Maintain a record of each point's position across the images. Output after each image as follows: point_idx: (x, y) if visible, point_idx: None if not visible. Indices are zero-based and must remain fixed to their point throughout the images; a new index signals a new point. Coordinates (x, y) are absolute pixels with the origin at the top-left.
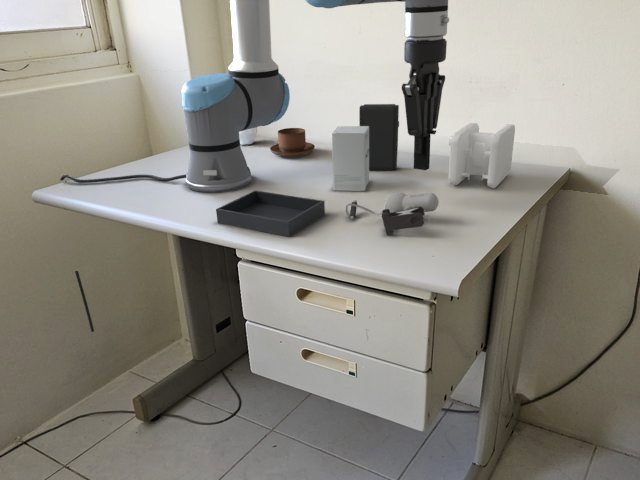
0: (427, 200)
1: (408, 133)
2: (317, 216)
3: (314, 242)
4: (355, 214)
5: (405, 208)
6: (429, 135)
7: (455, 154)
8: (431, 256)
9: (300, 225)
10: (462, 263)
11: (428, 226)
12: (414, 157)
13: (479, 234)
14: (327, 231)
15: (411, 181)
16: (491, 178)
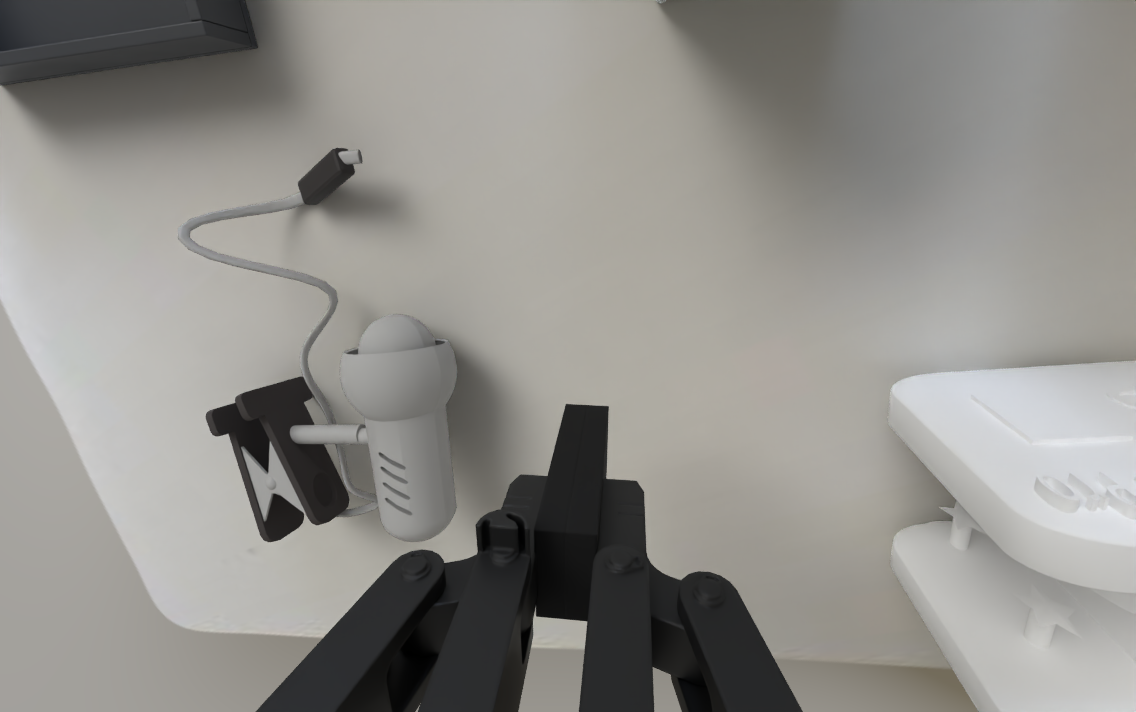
0: (381, 520)
1: (402, 558)
2: (187, 54)
3: (54, 211)
4: (317, 202)
5: (345, 438)
6: (581, 618)
7: (959, 494)
8: (249, 548)
9: (54, 72)
10: (269, 613)
11: None
12: (556, 441)
13: None
14: (149, 188)
15: (944, 152)
16: (899, 572)
